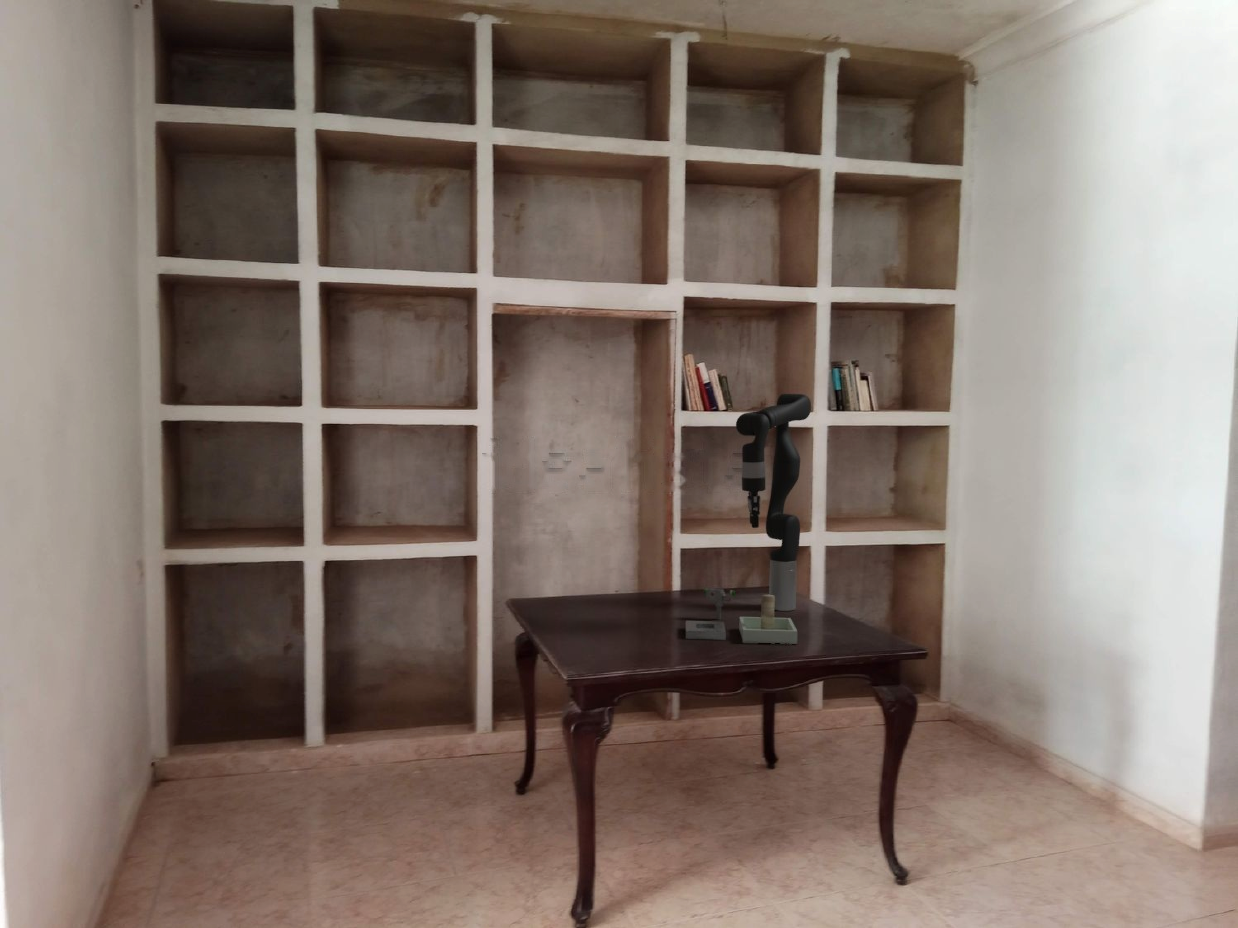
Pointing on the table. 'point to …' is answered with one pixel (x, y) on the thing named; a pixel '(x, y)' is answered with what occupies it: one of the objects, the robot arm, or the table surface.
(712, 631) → the socket block
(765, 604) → the dowel
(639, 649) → the table surface
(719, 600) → the mechanical component
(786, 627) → the tray
